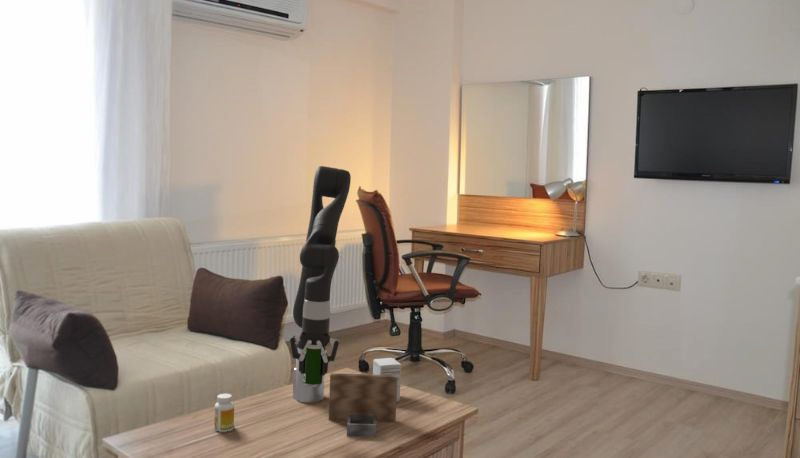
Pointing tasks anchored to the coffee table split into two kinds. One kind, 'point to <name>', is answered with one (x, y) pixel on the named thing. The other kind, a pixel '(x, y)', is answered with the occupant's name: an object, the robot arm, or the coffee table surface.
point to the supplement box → (388, 370)
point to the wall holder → (362, 401)
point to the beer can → (313, 366)
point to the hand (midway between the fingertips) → (313, 373)
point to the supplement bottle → (224, 413)
